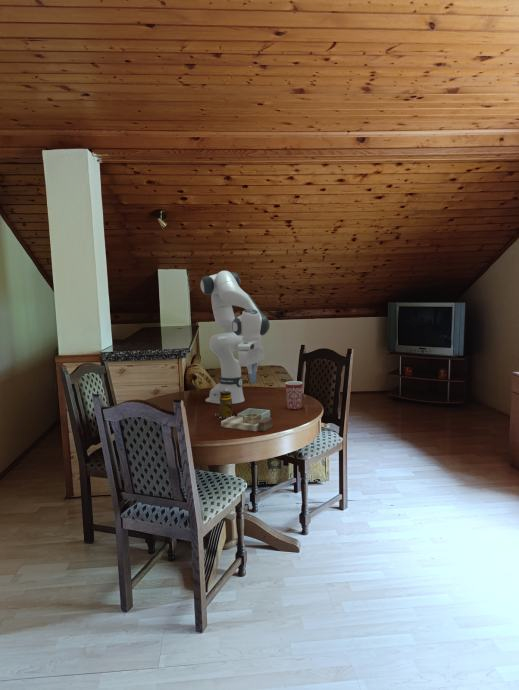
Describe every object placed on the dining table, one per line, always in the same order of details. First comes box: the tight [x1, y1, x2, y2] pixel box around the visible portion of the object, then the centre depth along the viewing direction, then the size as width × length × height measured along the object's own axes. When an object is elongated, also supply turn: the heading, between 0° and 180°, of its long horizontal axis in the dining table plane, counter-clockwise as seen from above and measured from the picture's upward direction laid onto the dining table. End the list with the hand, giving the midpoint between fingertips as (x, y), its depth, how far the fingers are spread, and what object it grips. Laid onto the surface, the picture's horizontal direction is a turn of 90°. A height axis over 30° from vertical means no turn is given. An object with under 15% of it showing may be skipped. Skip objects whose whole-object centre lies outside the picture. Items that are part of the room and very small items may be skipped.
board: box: [220, 413, 263, 432], centre depth 210 cm, size 18×10×6 cm, turn 63°
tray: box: [236, 407, 271, 419], centre depth 220 cm, size 12×12×4 cm
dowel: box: [249, 364, 257, 384], centre depth 218 cm, size 3×3×9 cm
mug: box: [284, 380, 303, 410], centre depth 241 cm, size 13×9×14 cm
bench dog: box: [257, 417, 273, 432], centre depth 205 cm, size 3×8×4 cm, turn 153°
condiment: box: [214, 391, 233, 419], centre depth 228 cm, size 7×8×12 cm
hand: (252, 373), depth 218 cm, fingers closed on dowel, 3 cm apart
